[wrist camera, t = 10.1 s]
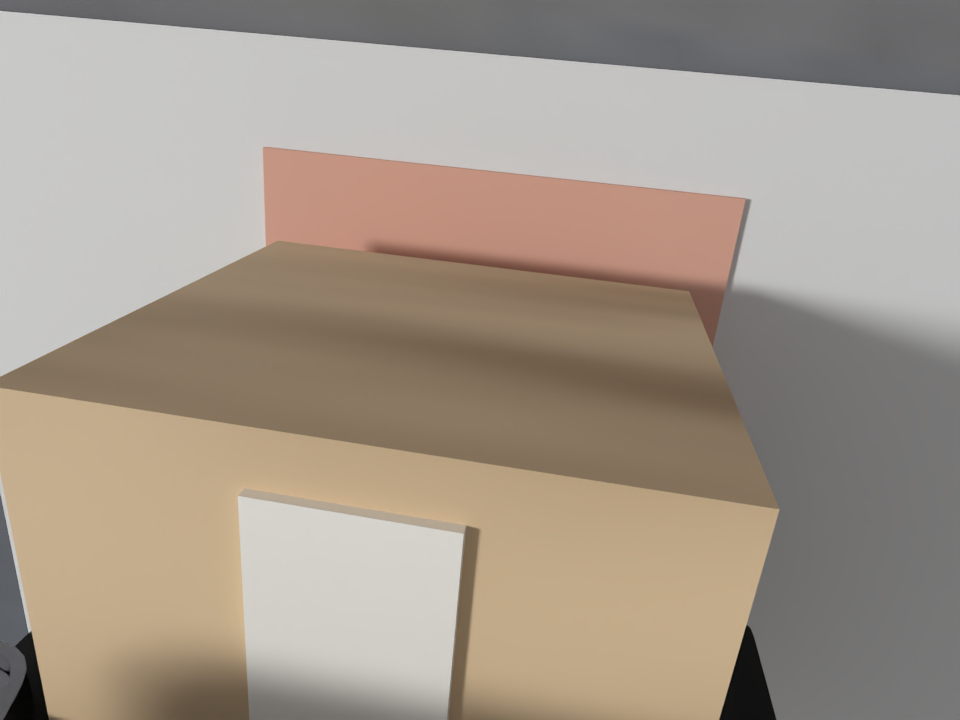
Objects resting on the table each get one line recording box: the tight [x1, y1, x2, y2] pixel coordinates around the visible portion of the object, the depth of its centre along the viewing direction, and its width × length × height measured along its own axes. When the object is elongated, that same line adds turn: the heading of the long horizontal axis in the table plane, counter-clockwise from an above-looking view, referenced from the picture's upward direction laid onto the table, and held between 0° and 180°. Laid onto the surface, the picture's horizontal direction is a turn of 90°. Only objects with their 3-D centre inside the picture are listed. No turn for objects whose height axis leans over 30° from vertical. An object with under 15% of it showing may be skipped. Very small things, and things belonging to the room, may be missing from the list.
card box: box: [0, 241, 780, 720], centre depth 9 cm, size 9×6×5 cm, turn 175°
